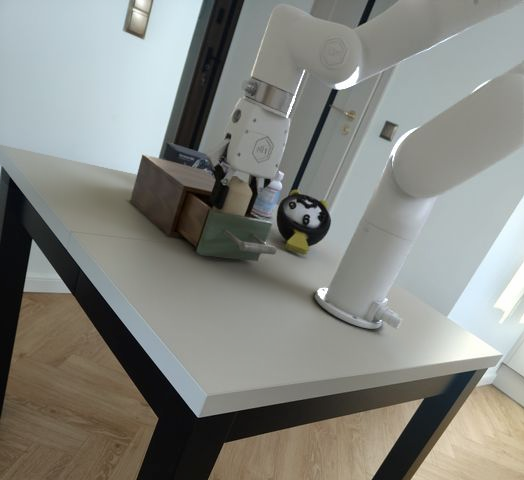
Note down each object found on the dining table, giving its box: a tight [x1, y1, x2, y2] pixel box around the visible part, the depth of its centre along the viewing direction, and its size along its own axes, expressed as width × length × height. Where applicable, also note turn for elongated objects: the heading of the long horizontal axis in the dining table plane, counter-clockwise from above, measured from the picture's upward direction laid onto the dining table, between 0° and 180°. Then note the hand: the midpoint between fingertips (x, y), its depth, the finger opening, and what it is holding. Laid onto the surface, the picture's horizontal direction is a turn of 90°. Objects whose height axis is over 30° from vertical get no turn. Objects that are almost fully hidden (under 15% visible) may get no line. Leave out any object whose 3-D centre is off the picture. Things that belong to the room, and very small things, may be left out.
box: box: [161, 141, 214, 176], centre depth 111 cm, size 11×7×10 cm, turn 123°
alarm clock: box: [276, 189, 332, 256], centre depth 114 cm, size 12×15×15 cm
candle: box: [212, 175, 252, 216], centre depth 87 cm, size 6×6×10 cm
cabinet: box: [130, 153, 216, 239], centre depth 96 cm, size 16×14×9 cm
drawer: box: [175, 191, 277, 262], centre depth 88 cm, size 21×13×7 cm, turn 39°
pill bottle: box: [252, 170, 285, 218], centre depth 129 cm, size 6×6×11 cm
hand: (230, 207), depth 87 cm, fingers closed on candle, 5 cm apart
